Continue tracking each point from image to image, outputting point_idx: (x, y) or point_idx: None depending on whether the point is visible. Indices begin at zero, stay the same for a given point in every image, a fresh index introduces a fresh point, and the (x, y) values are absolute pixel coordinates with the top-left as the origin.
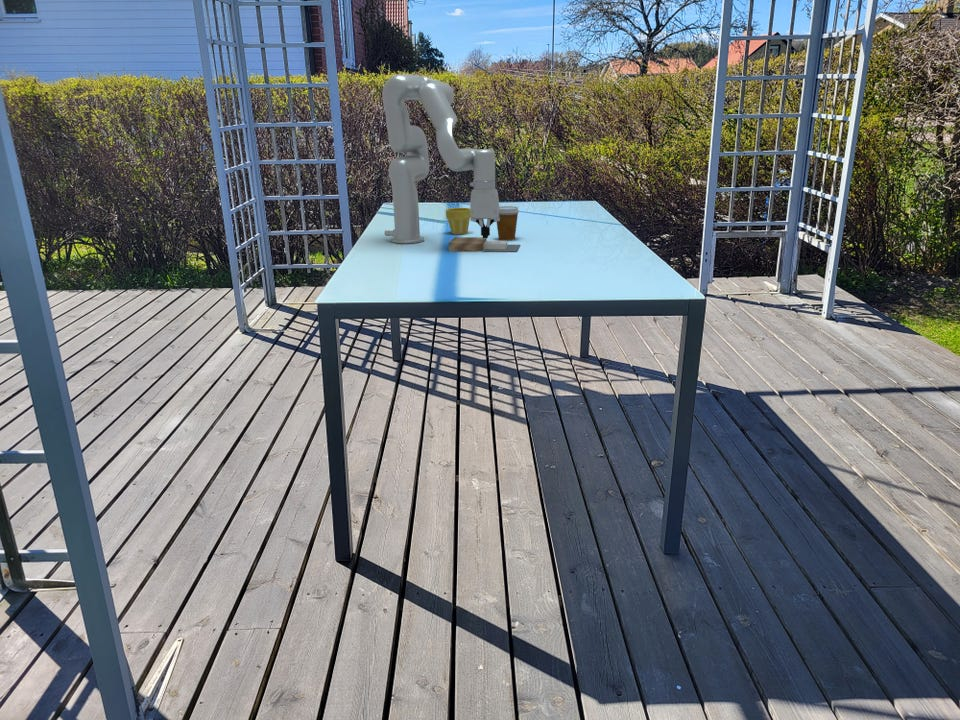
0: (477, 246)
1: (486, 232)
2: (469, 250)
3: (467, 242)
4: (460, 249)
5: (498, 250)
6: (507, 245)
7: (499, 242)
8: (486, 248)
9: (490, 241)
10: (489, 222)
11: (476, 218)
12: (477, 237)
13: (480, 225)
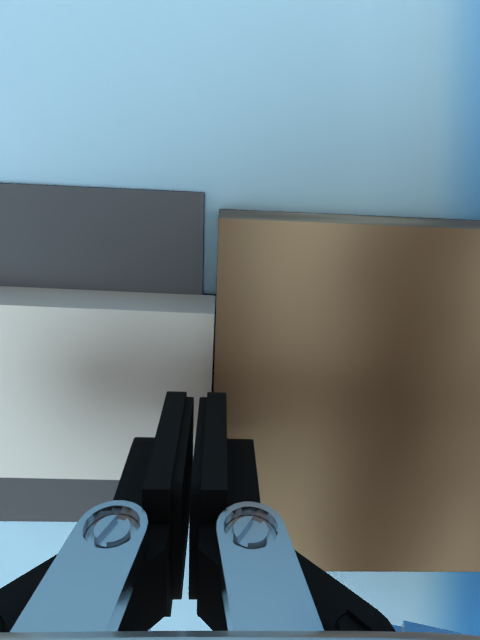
0: (277, 217)
1: (164, 432)
2: (361, 217)
3: (416, 267)
4: (465, 221)
5: (35, 221)
6: (6, 479)
7: (31, 387)
8: (181, 296)
9: None
10: (56, 584)
11: (419, 635)
12: None
13: (272, 535)
